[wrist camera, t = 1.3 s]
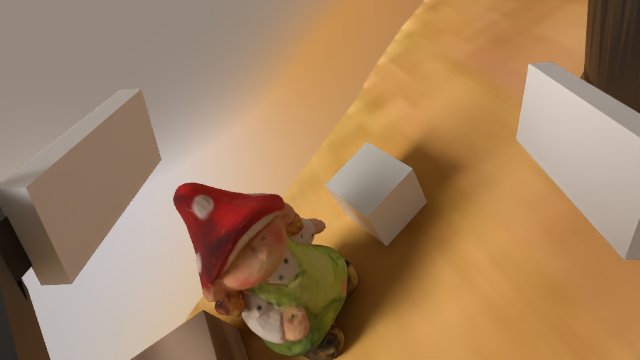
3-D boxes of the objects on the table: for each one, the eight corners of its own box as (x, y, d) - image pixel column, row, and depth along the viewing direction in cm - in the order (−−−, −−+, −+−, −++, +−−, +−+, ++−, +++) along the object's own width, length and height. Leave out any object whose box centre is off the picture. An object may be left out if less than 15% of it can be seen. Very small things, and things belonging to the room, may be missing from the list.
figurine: (369, 368, 36) (243, 279, 22) (278, 375, 39) (111, 301, 24) (363, 250, 43) (263, 119, 28) (285, 264, 46) (157, 151, 31)
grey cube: (384, 175, 47) (367, 141, 42) (427, 202, 43) (412, 168, 39) (347, 215, 46) (324, 185, 42) (386, 247, 42) (367, 217, 38)
